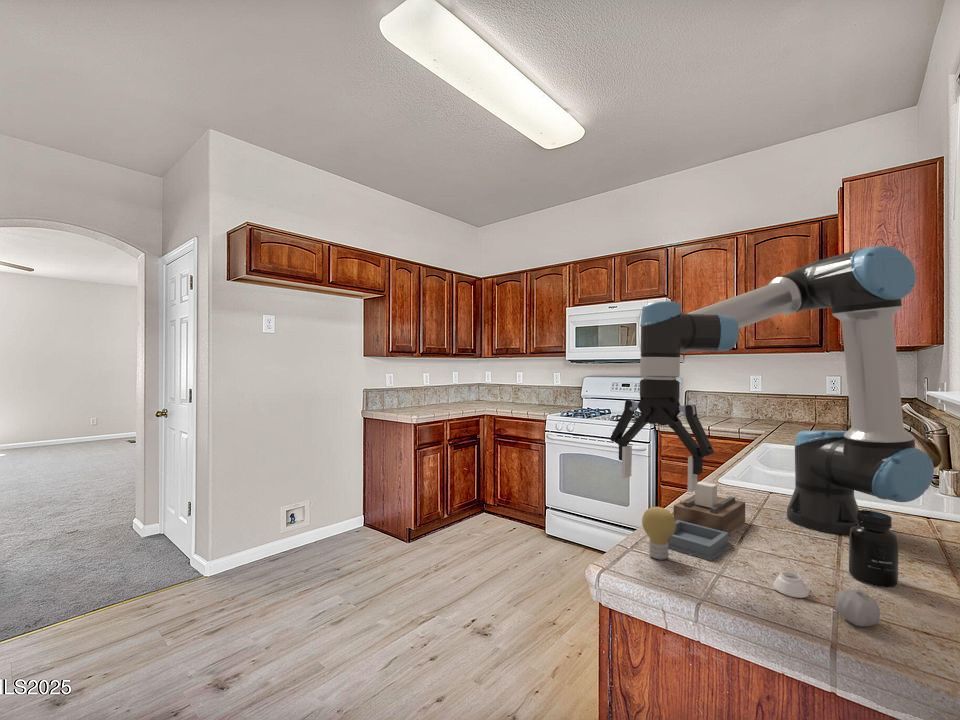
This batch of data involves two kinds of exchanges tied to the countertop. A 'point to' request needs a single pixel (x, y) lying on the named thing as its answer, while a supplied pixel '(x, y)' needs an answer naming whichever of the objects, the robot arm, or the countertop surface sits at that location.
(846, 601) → the garlic
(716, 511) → the switch box
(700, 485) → the toggle
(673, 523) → the light bulb
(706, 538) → the tray
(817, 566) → the countertop surface
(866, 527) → the supplement bottle
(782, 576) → the white conical ring
